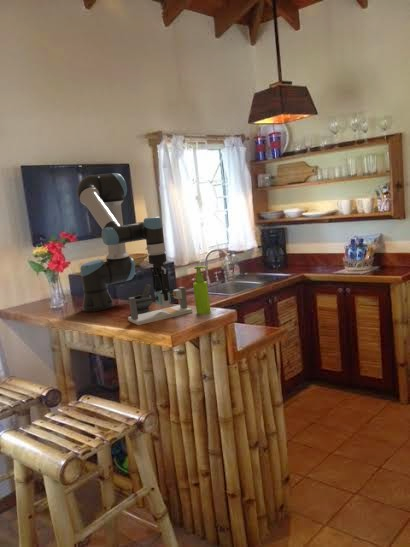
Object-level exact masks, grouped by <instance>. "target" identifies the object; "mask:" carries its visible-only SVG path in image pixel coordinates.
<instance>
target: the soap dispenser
mask: <svg viewBox="0 0 410 547" xmlns="http://www.w3.org/2000/svg"><path fill="white" fill-rule="evenodd" d="M207 268H208V266H206V265H205V266H204V265H198V266H195V267H194V269H195V270H196V274H195V275H194V276H195V277H194V278H195V282H193V284H192V286H193V293H194V300H195V302H194V303H195V310H196V315H198V314H205V315H208V314H207V313H209V314H211V313H212V311H211V304H210V302H211V301H210V297H209V296H210V295H209V288H208V281H205V278H204V274H203V273H202V272H201V271H202V270H201V269H207ZM194 269H193V270H194ZM210 312H211V313H210Z"/></svg>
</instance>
